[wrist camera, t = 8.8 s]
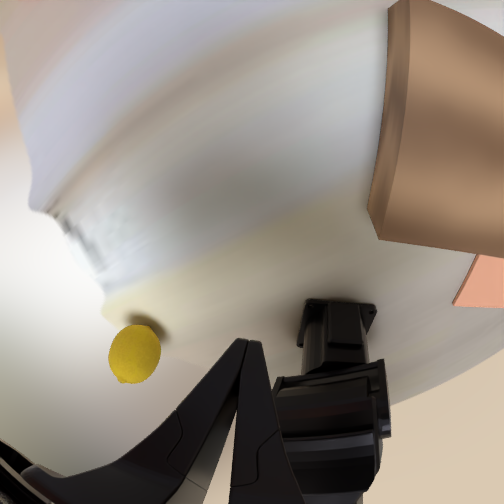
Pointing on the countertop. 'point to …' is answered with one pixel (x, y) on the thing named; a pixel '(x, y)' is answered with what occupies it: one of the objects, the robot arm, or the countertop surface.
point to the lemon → (134, 354)
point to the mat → (483, 284)
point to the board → (441, 133)
